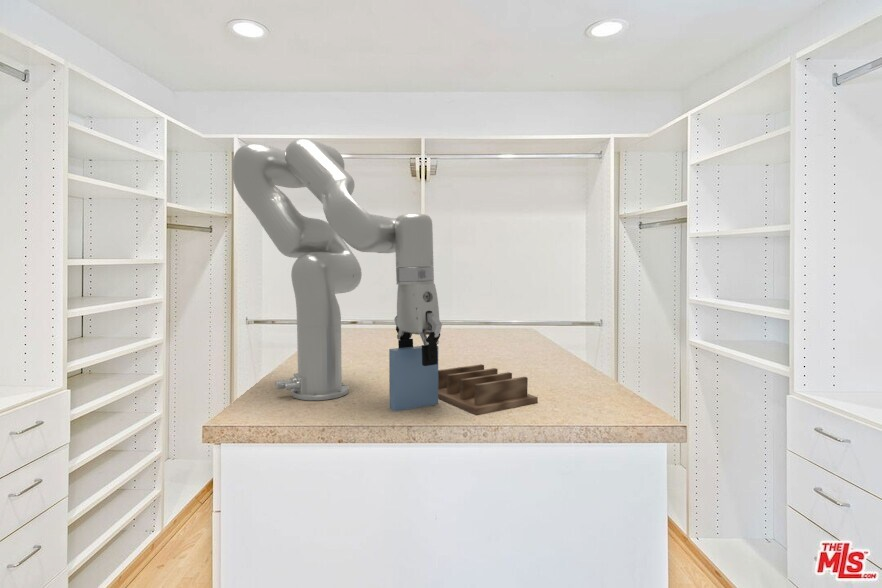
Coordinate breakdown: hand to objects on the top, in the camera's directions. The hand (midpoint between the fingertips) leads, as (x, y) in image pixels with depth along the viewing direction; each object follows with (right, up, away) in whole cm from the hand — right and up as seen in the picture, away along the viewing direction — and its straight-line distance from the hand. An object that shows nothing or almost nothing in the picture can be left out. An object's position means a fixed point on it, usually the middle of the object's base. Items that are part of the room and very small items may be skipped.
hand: (417, 361), depth 99 cm
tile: (-1, -9, +1) cm, 9 cm away
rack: (+13, -9, +7) cm, 17 cm away
